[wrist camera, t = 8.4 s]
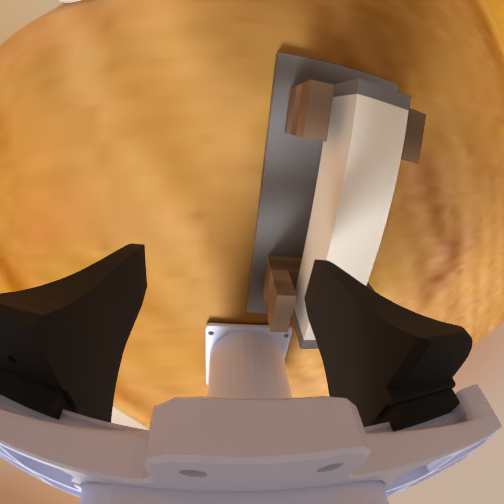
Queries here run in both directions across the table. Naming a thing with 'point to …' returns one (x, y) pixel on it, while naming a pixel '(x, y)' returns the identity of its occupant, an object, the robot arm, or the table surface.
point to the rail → (353, 186)
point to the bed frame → (298, 176)
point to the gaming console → (68, 1)
